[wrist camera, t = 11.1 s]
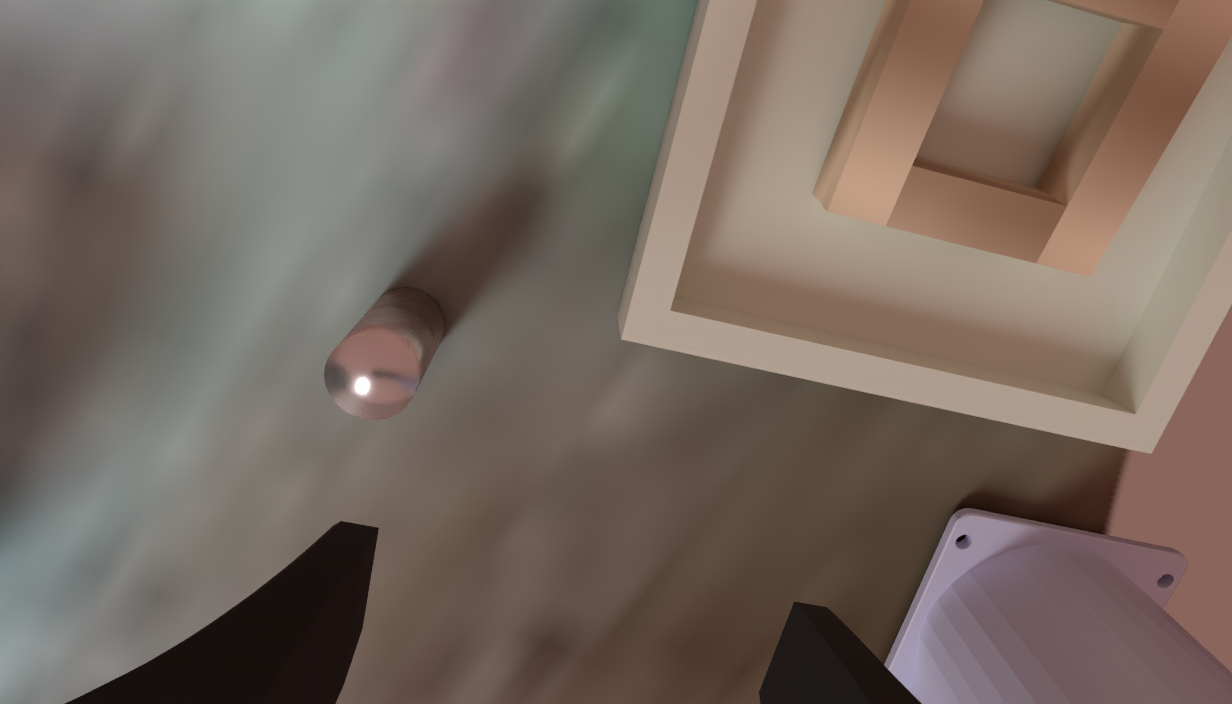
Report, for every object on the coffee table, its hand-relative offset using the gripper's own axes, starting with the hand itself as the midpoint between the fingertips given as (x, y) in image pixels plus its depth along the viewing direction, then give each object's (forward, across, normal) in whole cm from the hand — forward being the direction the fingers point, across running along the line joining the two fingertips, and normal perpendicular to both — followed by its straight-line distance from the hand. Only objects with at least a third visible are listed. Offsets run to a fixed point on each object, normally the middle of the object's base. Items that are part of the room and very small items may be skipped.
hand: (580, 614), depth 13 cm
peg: (+9, +5, -1) cm, 11 cm away
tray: (+9, -8, -10) cm, 16 cm away
